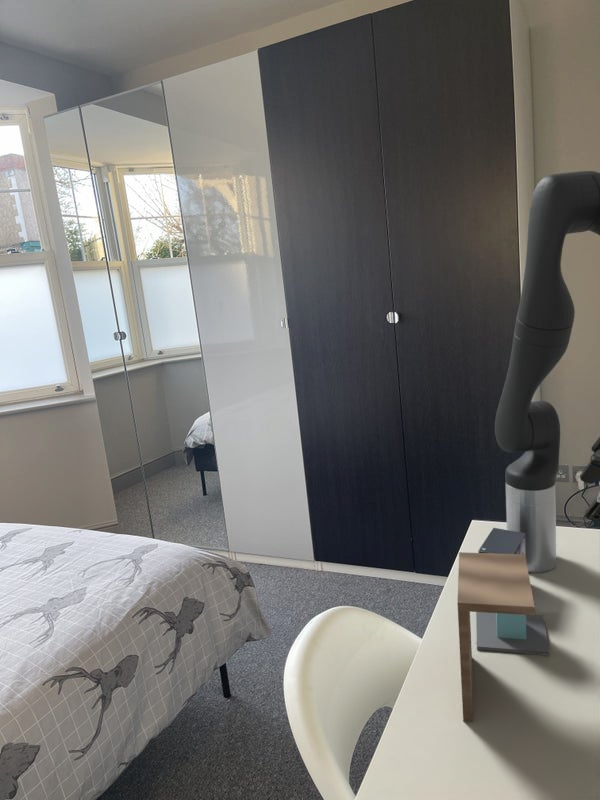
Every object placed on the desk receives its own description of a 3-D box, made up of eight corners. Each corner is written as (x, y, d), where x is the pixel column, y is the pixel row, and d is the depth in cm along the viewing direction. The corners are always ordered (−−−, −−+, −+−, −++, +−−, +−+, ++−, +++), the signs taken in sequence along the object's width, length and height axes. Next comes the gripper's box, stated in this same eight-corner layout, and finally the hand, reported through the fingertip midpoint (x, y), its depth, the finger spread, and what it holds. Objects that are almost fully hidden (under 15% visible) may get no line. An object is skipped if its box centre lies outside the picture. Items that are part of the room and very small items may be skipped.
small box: (515, 610, 107) (513, 556, 105) (478, 603, 111) (476, 550, 108) (527, 582, 116) (526, 531, 113) (493, 575, 119) (491, 526, 117)
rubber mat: (476, 614, 107) (476, 611, 107) (542, 618, 104) (542, 615, 104) (476, 649, 98) (476, 646, 98) (550, 655, 95) (549, 651, 94)
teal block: (496, 621, 103) (494, 557, 101) (524, 623, 102) (522, 558, 100) (497, 637, 99) (495, 571, 97) (526, 639, 98) (525, 572, 95)
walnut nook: (464, 656, 96) (459, 552, 92) (527, 661, 94) (525, 554, 90) (463, 720, 83) (457, 602, 79) (536, 728, 81) (534, 606, 77)
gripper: (615, 386, 90) (561, 461, 100) (629, 444, 79) (567, 522, 89) (664, 404, 90) (605, 477, 100) (686, 465, 78) (617, 541, 88)
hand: (588, 498), depth 94 cm, fingers open, 8 cm apart
